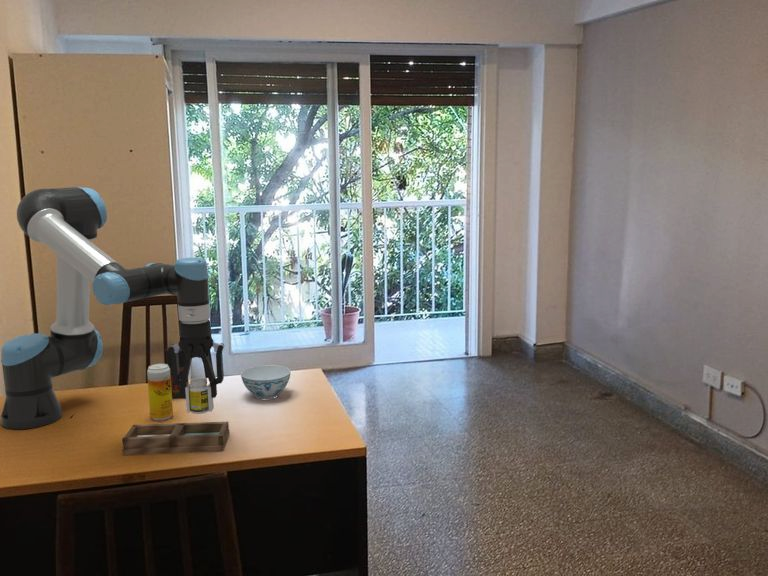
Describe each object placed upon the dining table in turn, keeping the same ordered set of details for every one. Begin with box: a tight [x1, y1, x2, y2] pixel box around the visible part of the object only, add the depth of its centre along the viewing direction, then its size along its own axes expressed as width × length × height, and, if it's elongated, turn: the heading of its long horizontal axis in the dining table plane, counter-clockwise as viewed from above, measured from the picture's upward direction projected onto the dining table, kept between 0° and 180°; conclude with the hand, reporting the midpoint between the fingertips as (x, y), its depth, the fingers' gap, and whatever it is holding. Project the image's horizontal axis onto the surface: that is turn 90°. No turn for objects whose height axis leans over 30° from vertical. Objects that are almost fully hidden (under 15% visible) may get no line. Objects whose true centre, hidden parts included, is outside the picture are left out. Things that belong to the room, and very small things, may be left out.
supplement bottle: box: [189, 376, 209, 415], centre depth 169 cm, size 5×5×8 cm
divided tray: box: [121, 421, 230, 456], centre depth 170 cm, size 24×11×4 cm, turn 95°
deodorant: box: [165, 347, 190, 400], centre depth 205 cm, size 6×6×15 cm
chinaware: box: [240, 364, 291, 400], centre depth 205 cm, size 15×15×8 cm
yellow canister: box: [146, 363, 174, 422], centre depth 187 cm, size 6×6×15 cm
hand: (200, 409), depth 170 cm, fingers closed on supplement bottle, 5 cm apart
